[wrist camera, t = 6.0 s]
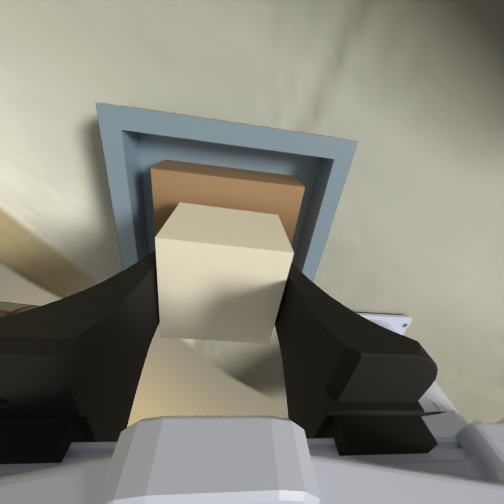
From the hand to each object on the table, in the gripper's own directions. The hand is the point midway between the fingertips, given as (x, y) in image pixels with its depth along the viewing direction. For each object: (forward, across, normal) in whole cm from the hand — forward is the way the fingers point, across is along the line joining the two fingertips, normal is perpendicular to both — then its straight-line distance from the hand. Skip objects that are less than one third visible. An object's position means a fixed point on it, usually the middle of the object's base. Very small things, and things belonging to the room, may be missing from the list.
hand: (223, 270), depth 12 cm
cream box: (+2, 0, 0) cm, 2 cm away
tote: (+6, 0, 0) cm, 6 cm away
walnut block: (+6, 0, 0) cm, 6 cm away
